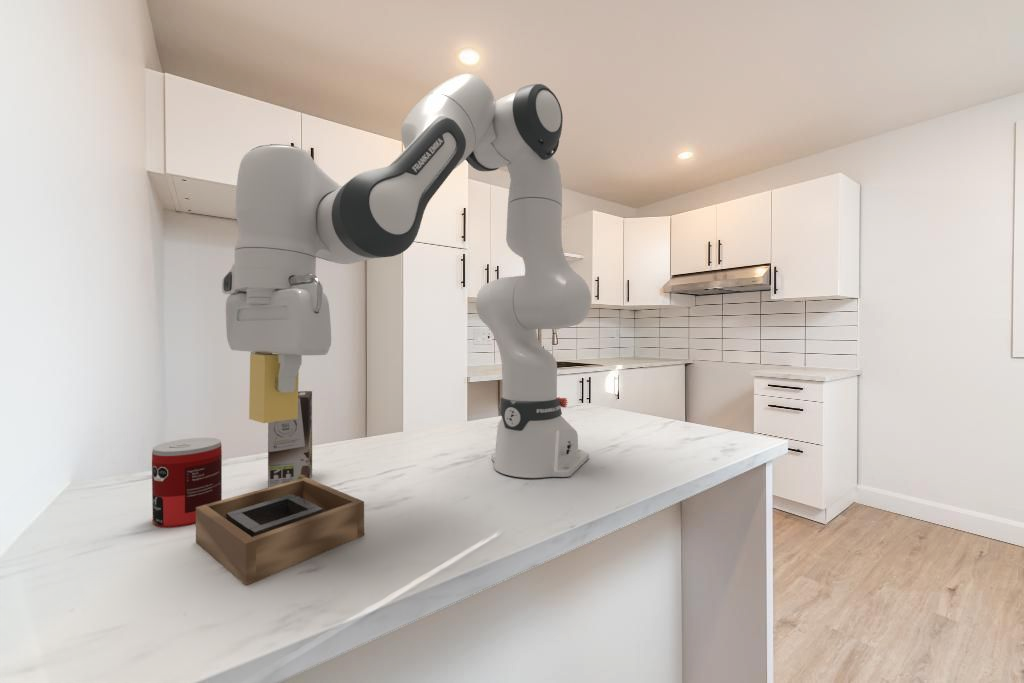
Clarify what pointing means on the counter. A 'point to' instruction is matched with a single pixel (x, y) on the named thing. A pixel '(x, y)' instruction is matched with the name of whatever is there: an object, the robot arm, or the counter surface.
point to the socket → (272, 514)
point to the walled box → (278, 530)
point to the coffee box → (291, 445)
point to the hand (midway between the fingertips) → (274, 389)
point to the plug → (269, 391)
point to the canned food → (185, 479)
